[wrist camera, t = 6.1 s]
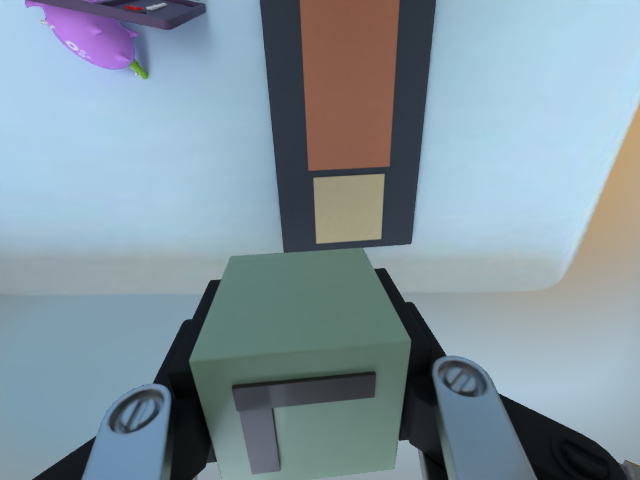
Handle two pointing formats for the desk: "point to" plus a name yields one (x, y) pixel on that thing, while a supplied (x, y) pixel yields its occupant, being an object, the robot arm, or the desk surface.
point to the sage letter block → (301, 367)
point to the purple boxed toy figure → (111, 26)
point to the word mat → (347, 117)
